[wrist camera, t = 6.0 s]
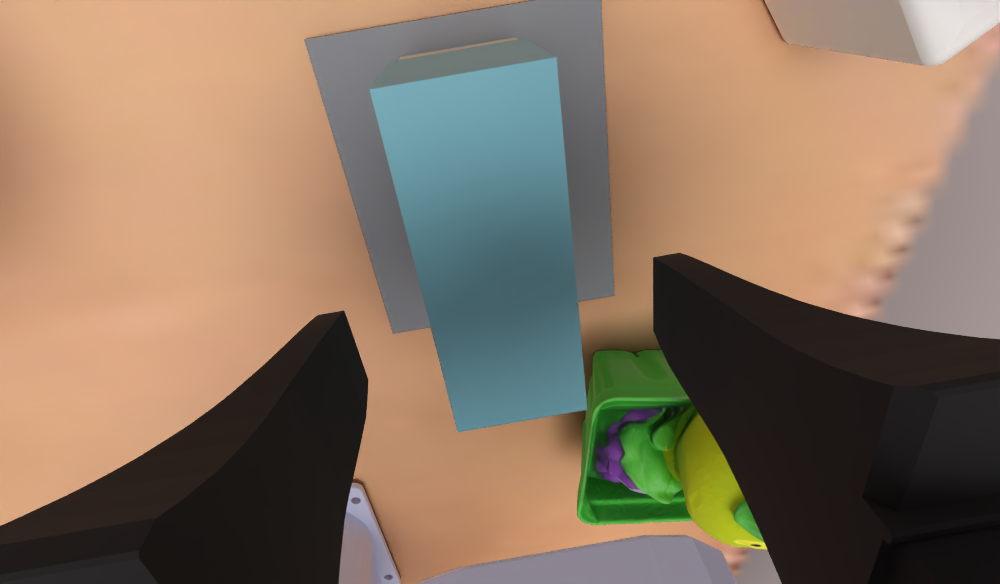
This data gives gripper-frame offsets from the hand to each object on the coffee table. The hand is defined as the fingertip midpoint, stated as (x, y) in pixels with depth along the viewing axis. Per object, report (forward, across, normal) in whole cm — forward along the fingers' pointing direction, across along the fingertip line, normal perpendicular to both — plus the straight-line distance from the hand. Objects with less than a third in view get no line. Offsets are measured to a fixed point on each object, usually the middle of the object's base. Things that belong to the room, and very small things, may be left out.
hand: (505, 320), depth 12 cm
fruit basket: (+10, -8, +12) cm, 18 cm away
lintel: (+7, 0, 0) cm, 7 cm away
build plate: (+10, 0, 0) cm, 10 cm away
